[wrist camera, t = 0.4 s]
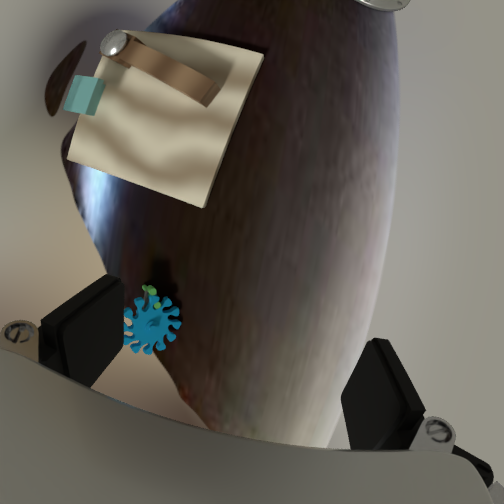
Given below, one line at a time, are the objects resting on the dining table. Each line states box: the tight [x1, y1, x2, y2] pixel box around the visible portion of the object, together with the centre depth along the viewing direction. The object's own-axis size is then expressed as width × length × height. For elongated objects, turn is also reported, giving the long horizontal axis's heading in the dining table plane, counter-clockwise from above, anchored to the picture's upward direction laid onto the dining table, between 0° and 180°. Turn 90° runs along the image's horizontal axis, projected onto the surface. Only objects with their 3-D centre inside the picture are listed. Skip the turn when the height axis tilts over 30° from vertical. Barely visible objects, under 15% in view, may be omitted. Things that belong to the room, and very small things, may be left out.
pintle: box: [100, 30, 128, 56], centre depth 29 cm, size 4×4×5 cm
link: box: [99, 29, 221, 108], centre depth 30 cm, size 18×4×4 cm, turn 54°
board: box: [67, 30, 264, 208], centre depth 34 cm, size 22×24×2 cm
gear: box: [124, 285, 181, 355], centre depth 41 cm, size 11×6×10 cm
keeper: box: [63, 75, 106, 116], centre depth 31 cm, size 5×4×6 cm
